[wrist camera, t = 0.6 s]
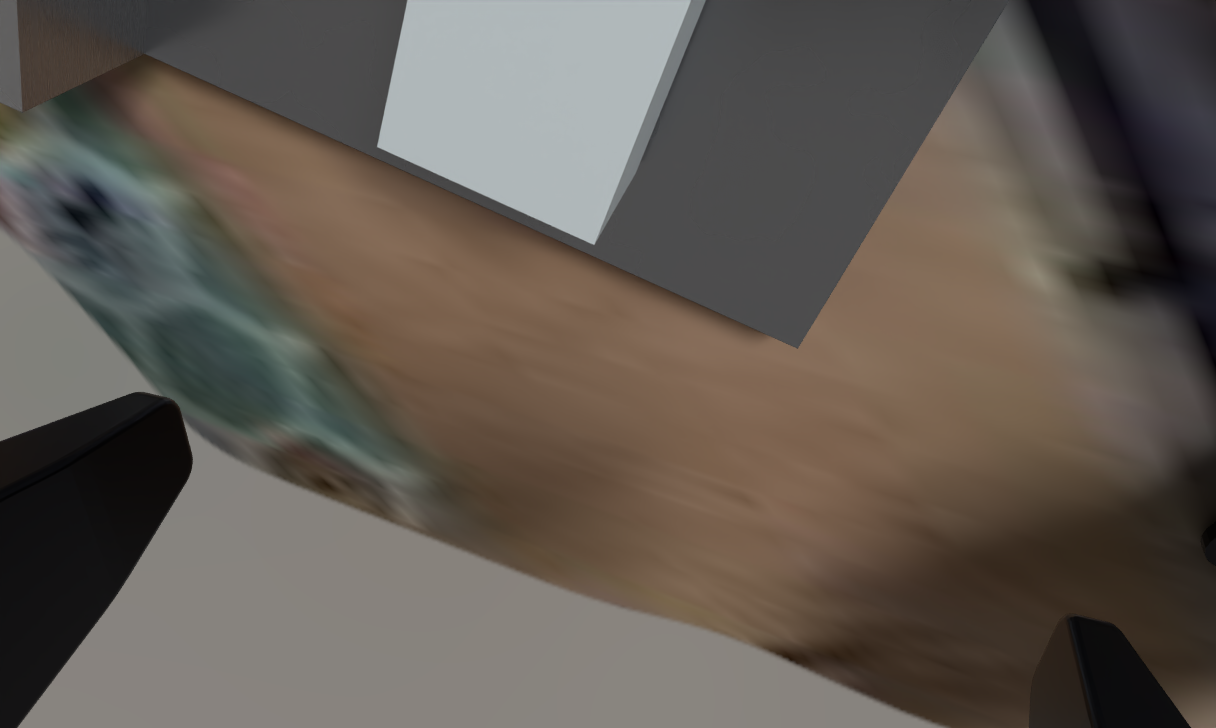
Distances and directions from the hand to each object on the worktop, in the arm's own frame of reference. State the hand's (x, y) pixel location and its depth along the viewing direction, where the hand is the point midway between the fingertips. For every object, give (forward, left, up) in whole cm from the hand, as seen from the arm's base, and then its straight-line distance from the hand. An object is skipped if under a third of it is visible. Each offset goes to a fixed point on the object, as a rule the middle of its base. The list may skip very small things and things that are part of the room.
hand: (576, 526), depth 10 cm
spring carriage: (+3, -2, -10) cm, 11 cm away
